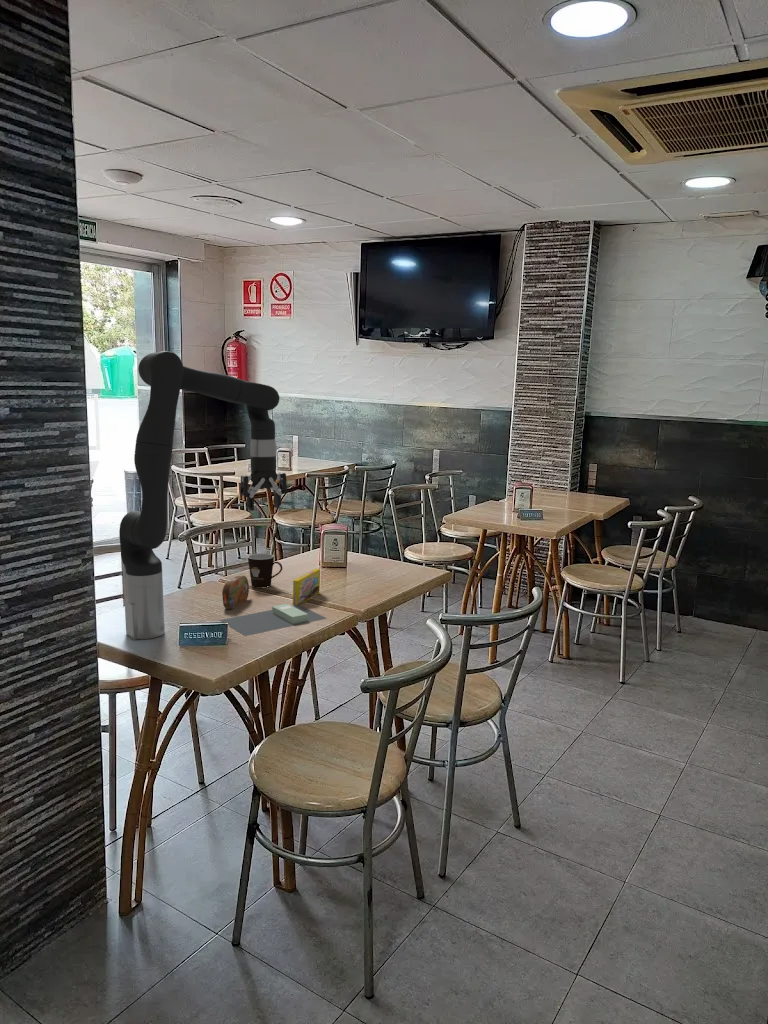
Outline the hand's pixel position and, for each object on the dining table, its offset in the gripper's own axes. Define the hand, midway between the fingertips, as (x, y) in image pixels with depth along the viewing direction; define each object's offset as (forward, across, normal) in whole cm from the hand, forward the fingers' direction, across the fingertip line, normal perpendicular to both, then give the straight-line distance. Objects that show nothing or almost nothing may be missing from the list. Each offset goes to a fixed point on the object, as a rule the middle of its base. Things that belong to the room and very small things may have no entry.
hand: (264, 508), depth 217 cm
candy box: (+30, -14, +1) cm, 34 cm away
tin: (+30, +7, -6) cm, 32 cm away
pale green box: (+28, 0, +21) cm, 35 cm away
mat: (+30, +5, +14) cm, 34 cm away
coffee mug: (+30, -10, -20) cm, 38 cm away
